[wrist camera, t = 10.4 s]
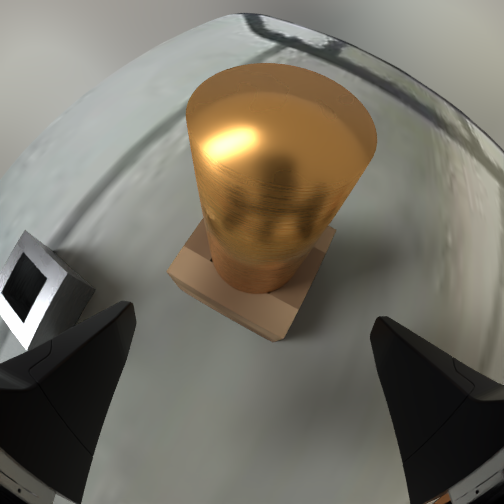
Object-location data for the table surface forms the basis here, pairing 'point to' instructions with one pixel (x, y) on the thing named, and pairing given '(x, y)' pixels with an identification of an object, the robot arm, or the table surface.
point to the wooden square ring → (240, 303)
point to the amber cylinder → (273, 166)
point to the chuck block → (50, 297)
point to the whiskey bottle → (443, 499)
